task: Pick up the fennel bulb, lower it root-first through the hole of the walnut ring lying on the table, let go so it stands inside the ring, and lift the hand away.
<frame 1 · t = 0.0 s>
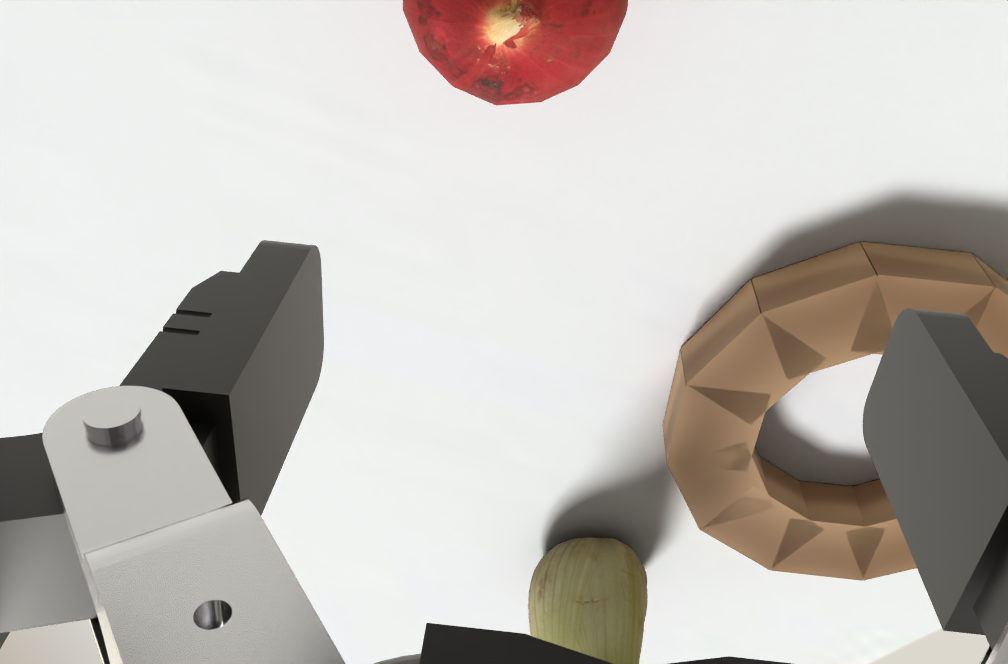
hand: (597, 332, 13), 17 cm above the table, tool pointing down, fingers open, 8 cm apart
fennel bulb: (586, 555, 40), on the table
walnut ring: (854, 407, 34), on the table
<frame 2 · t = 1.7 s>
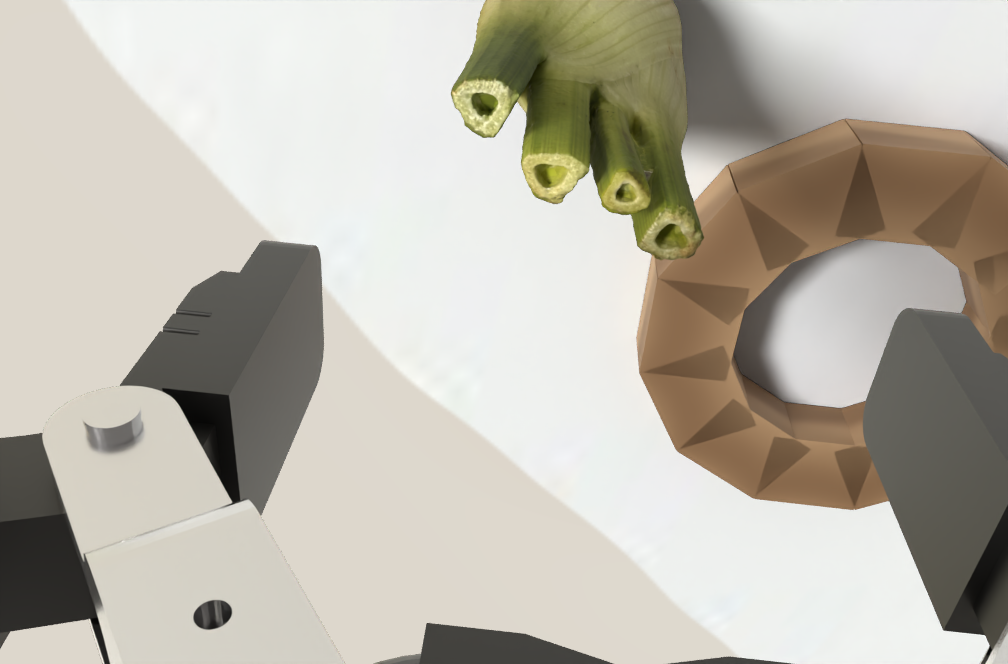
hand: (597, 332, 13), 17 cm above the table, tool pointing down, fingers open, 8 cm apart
fennel bulb: (593, 25, 27), on the table
walnut ring: (842, 315, 32), on the table
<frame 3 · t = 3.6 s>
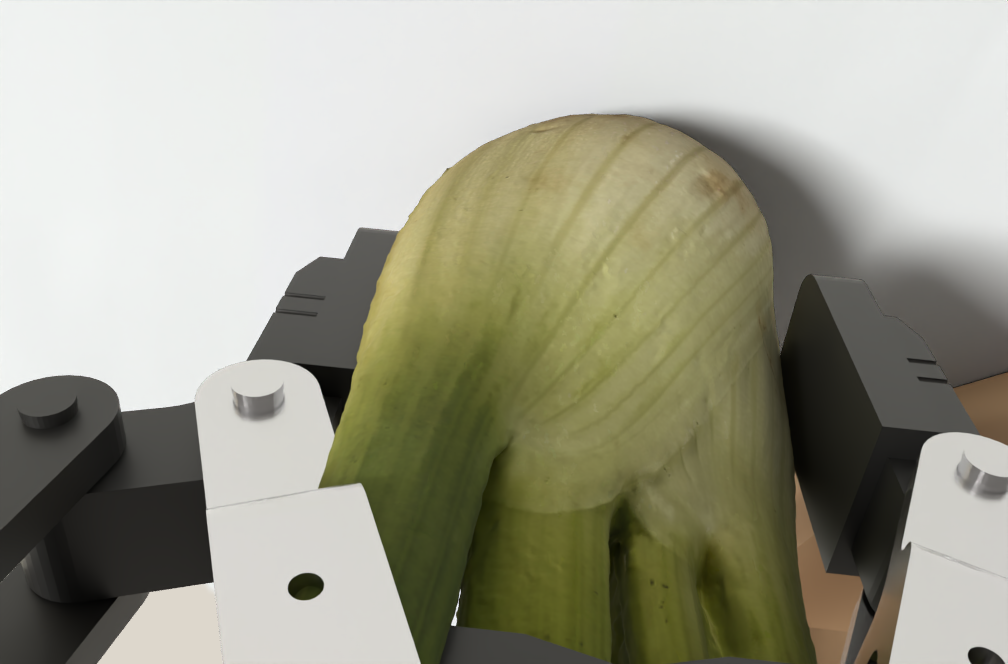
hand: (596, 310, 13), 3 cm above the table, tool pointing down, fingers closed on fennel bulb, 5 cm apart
fennel bulb: (606, 215, 16), on the table, touching gripper
walnut ring: (992, 628, 20), on the table
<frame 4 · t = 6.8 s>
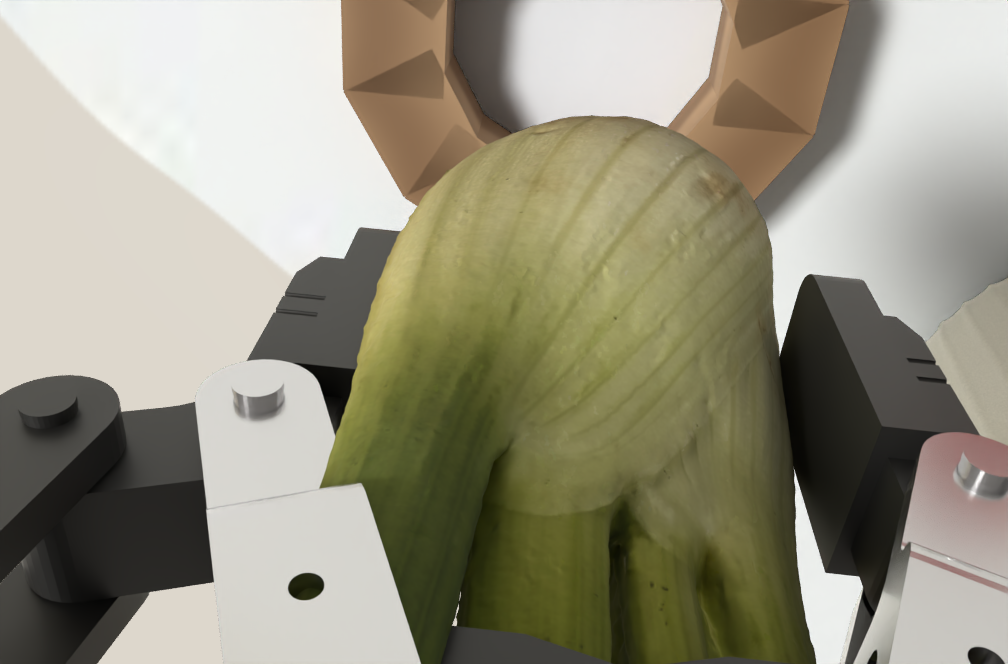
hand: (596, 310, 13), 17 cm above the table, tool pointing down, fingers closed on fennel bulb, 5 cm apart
fennel bulb: (606, 217, 16), point 14 cm above the table, touching gripper
walnut ring: (584, 30, 27), on the table
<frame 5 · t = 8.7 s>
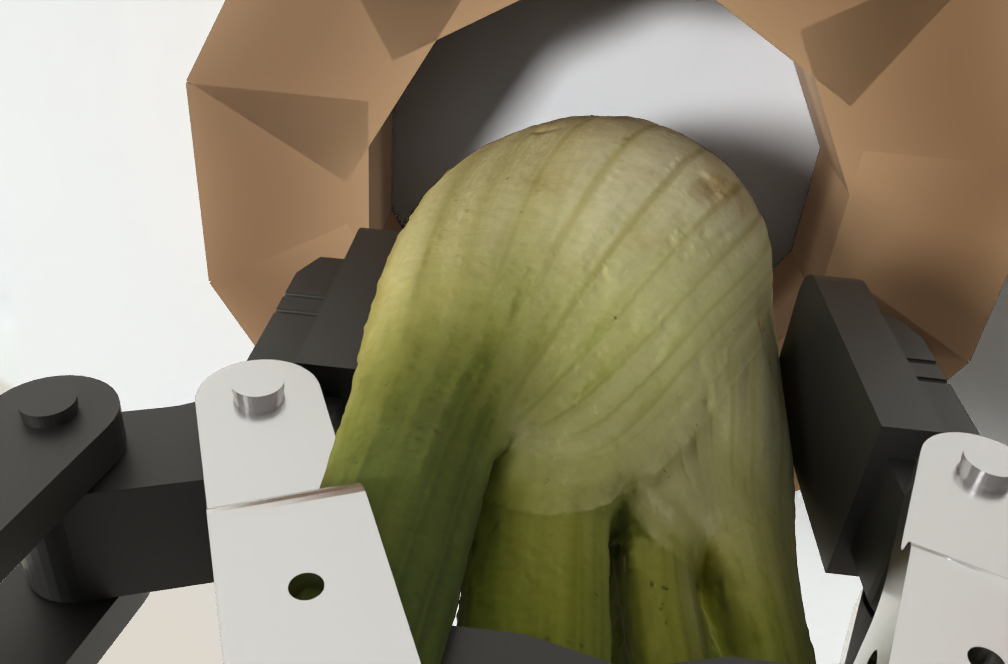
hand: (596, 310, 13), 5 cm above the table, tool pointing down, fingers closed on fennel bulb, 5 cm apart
fennel bulb: (606, 216, 16), point 2 cm above the table, touching gripper
walnut ring: (597, 179, 17), on the table
when the fingers open (4 cm above the table, at t = 9.7 s): fennel bulb drops 1 cm, resting in walnut ring.
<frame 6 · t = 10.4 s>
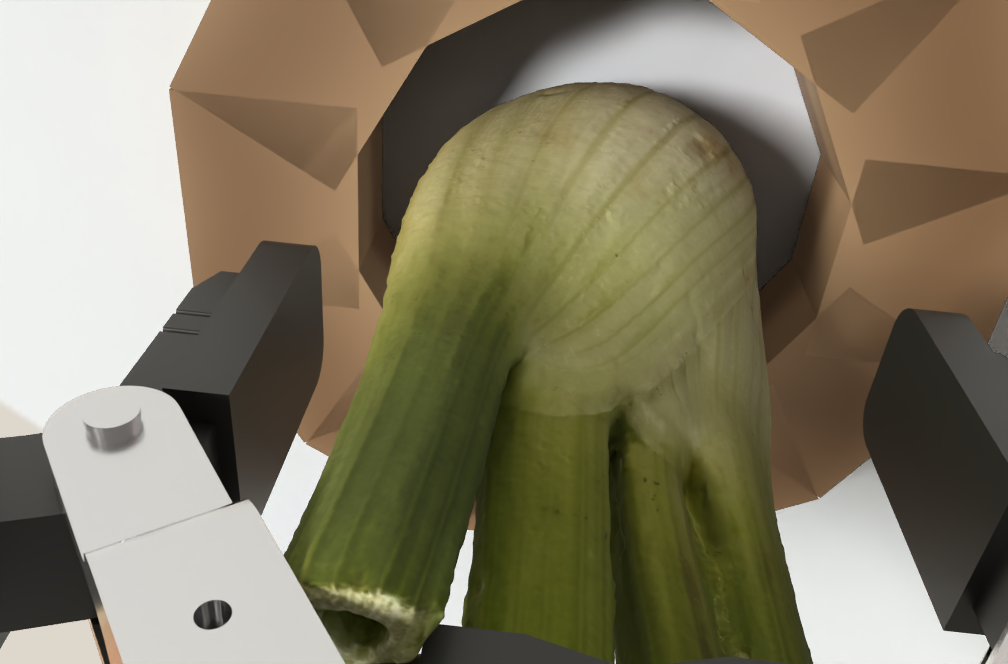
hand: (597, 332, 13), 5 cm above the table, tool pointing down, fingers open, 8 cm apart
fennel bulb: (604, 180, 17), resting in walnut ring
walnut ring: (593, 187, 17), on the table
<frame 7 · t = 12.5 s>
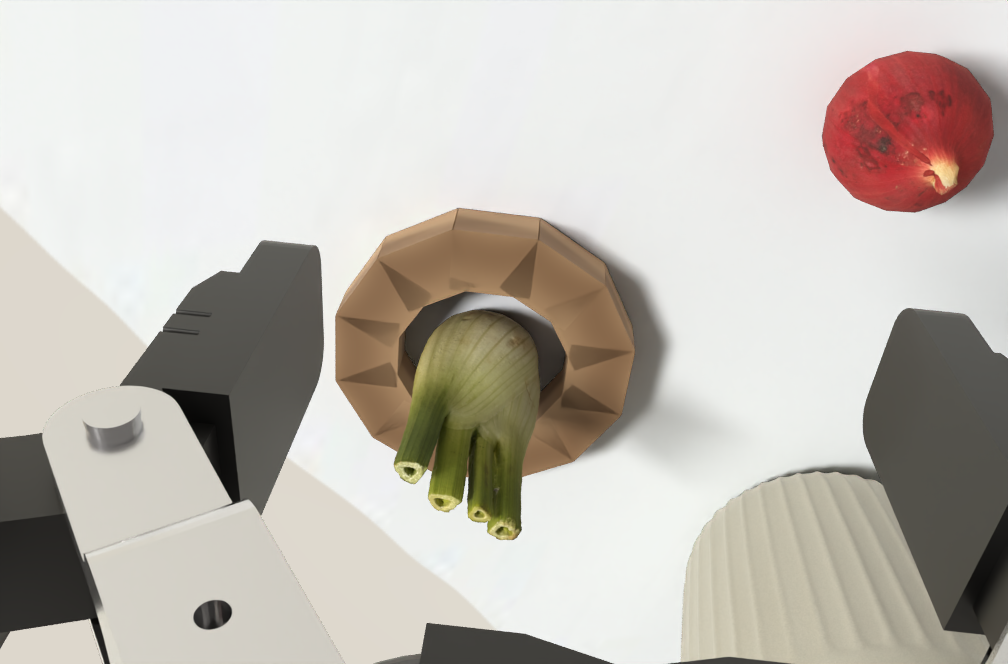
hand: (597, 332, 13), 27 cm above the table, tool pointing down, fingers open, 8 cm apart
onion: (876, 100, 37), on the table
fennel bulb: (490, 338, 45), resting in walnut ring
canister: (803, 542, 51), on the table
walnut ring: (485, 341, 45), on the table
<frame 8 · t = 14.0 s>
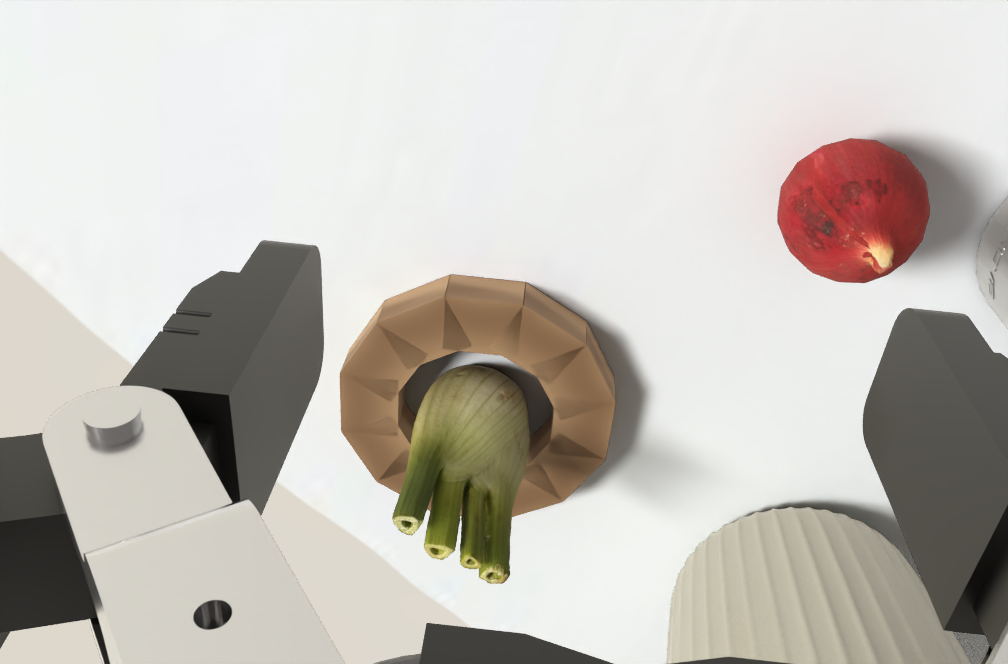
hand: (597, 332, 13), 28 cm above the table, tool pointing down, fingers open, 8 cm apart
onion: (829, 174, 41), on the table
fennel bulb: (483, 389, 48), resting in walnut ring
canister: (783, 571, 54), on the table
walnut ring: (479, 392, 48), on the table
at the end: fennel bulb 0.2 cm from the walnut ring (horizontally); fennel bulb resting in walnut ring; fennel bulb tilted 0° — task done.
